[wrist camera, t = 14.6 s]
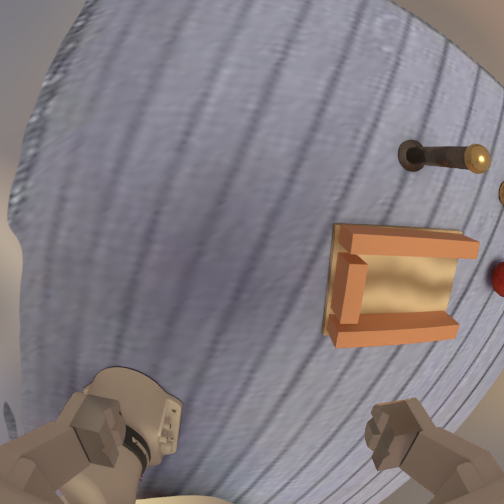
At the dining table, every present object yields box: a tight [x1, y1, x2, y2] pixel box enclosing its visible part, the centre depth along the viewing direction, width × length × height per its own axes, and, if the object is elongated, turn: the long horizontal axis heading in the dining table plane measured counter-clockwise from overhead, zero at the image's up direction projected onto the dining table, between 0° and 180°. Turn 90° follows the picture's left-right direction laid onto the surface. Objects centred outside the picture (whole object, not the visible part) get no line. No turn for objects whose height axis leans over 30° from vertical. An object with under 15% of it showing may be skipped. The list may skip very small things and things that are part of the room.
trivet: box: [322, 223, 462, 336], centre depth 43 cm, size 16×21×1 cm
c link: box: [327, 225, 480, 348], centre depth 40 cm, size 20×15×5 cm
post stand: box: [398, 140, 491, 174], centre depth 31 cm, size 4×4×16 cm
